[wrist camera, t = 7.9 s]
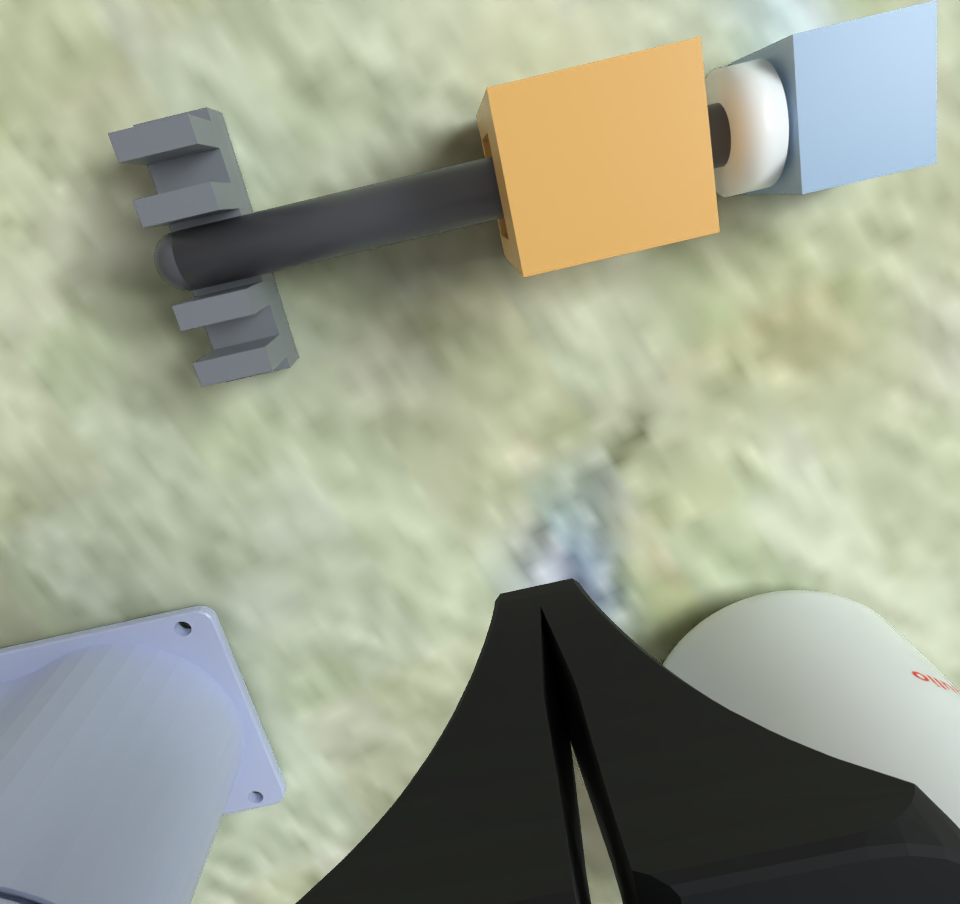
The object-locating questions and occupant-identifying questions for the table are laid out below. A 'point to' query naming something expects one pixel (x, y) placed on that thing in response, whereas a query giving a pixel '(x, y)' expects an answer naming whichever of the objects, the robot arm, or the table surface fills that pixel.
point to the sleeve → (602, 158)
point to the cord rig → (473, 185)
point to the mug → (831, 685)
